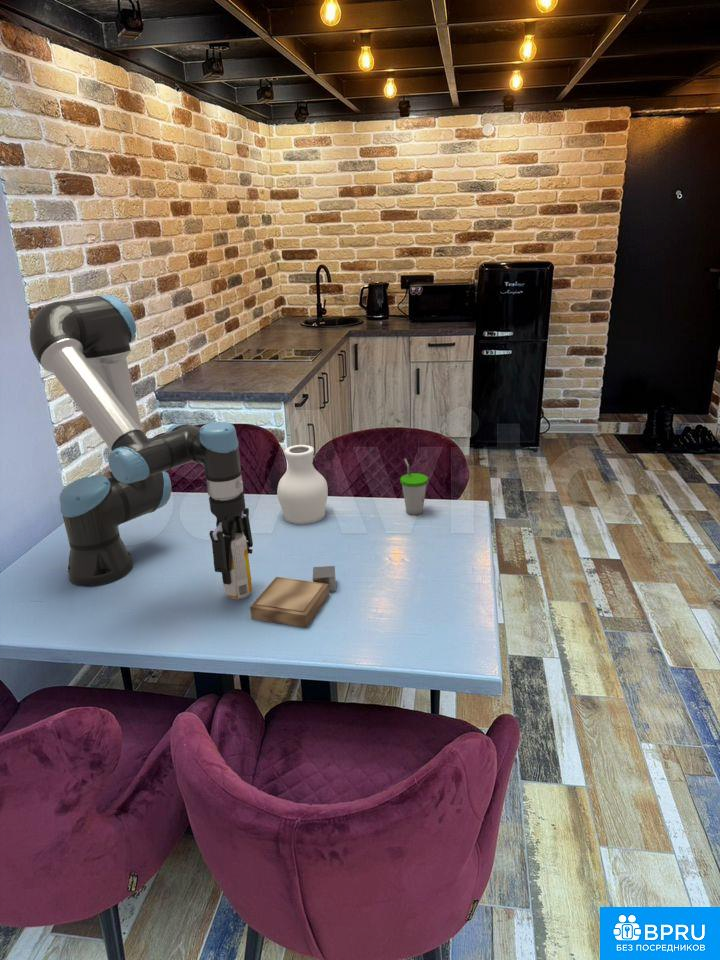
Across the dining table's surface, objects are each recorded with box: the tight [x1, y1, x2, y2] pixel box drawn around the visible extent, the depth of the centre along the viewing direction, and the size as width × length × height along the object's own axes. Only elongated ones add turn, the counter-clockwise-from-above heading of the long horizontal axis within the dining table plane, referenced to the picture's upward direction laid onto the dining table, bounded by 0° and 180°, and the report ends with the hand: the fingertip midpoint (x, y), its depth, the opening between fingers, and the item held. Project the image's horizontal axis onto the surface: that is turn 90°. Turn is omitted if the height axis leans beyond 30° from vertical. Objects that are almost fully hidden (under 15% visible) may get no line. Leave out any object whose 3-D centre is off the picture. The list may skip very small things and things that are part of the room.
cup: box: [399, 458, 429, 517], centre depth 191 cm, size 8×8×15 cm
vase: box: [276, 444, 329, 525], centre depth 191 cm, size 14×14×20 cm
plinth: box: [249, 576, 330, 629], centre depth 150 cm, size 13×13×3 cm
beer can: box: [224, 532, 253, 600], centre depth 154 cm, size 6×6×15 cm
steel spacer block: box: [312, 565, 337, 593], centre depth 158 cm, size 5×5×4 cm
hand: (238, 586), depth 156 cm, fingers closed on beer can, 6 cm apart
